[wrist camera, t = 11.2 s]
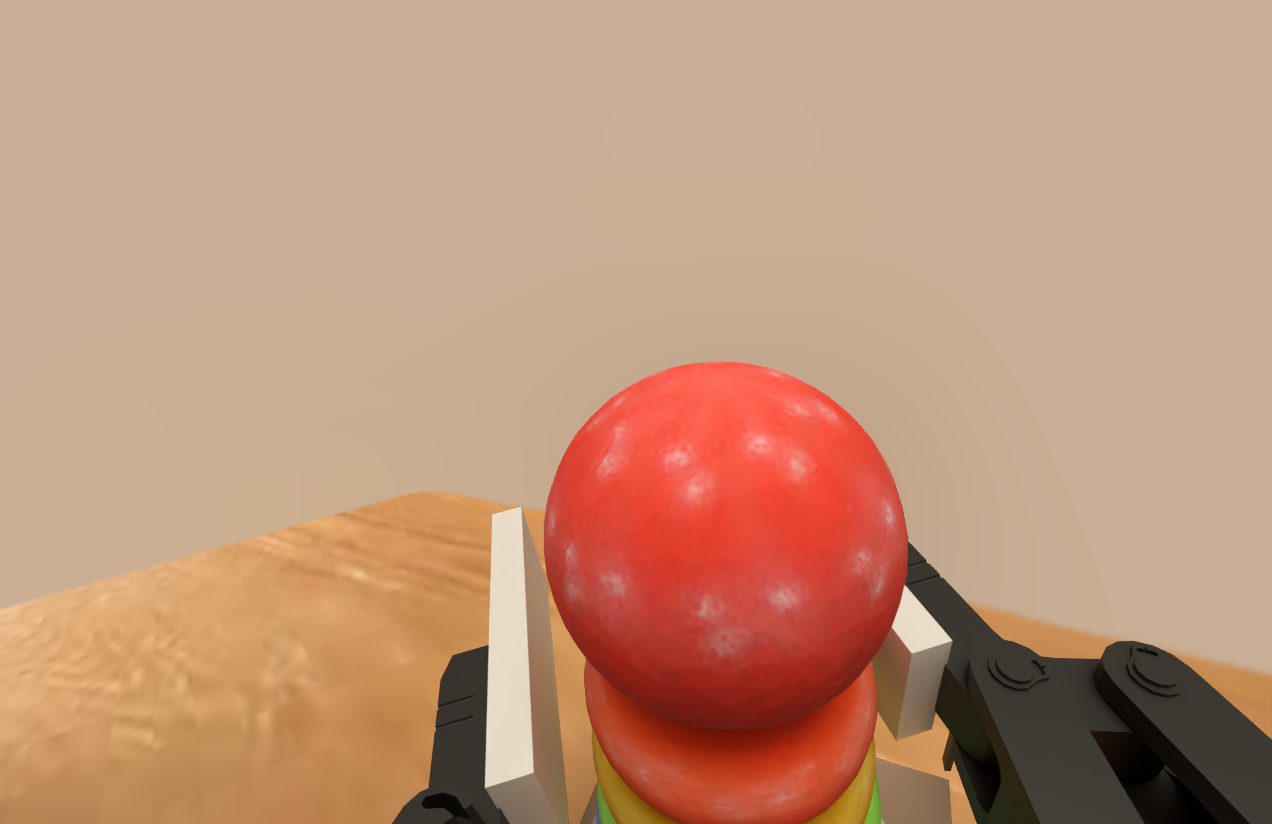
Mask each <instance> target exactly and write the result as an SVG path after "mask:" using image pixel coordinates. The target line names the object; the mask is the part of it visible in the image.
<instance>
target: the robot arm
mask: <svg viewBox="0 0 1272 824" xmlns="http://www.w3.org/2000/svg"><path fill="white" fill-rule="evenodd" d="M871 661H872V665H873V670H874V675H875V679H876V690H877V711H878V712H879V714H880V716H881V717H882V719H883V720H884V722H885V724H886V725H887V727H888V728H889V730H890V731H891V733H892V735H893V736H894V738H895V739H896V741H897V740H900V739H903V738H906V737H909V736H912V735H915V734H918V733H921V732H924V731H927V730H930V729H932V726H933V721H934V717H935V713H937V714H938V716H939V717H940V719H941V720H942V721H943V723H944V724H945V725H946V727H947V728H948V730H949V731H950V732H949V736H948V739H947V743H946V747H945V751H944V754H943V765H944V771H951V768H952V765H953V761H954V762H955V765H956V767H957V770H958V773H959V776H960V778H961V781H962V784H963V787H964V789H965V792H966V795H967V798H968V800H969V803H970V806H971V809H972V811H973V814H974V817H975V820H976V822H977V824H1272V739H1270V738H1269V737H1268V736H1267V735H1266V734H1265V733H1264V732H1263V731H1261V730H1260V729H1259V728H1258V727H1257V726H1256V725H1255V724H1254V723H1252V722H1251V721H1250V720H1249V719H1248V718H1247V717H1246V716H1245V715H1243V714H1242V713H1241V712H1240V711H1239V710H1238V709H1237V708H1236V707H1234V706H1233V705H1232V704H1231V703H1230V702H1229V701H1228V700H1227V699H1225V698H1224V697H1223V696H1222V695H1221V694H1220V693H1219V692H1217V691H1216V690H1215V689H1214V688H1213V687H1212V686H1211V685H1210V684H1208V683H1207V682H1206V681H1205V680H1204V679H1203V678H1202V677H1201V676H1199V675H1198V674H1197V673H1196V672H1195V671H1194V670H1193V669H1192V668H1190V667H1189V666H1188V665H1186V664H1185V663H1184V662H1182V661H1181V660H1179V659H1178V658H1177V657H1175V656H1174V655H1172V654H1170V653H1168V652H1166V651H1163V650H1161V649H1159V648H1157V647H1155V646H1153V645H1148V644H1144V643H1140V642H1135V641H1119V642H1115V643H1113V644H1111V645H1109V646H1107V647H1106V649H1105V651H1104V653H1103V655H1102V657H1101V659H1072V658H1050V657H1042V656H1039V655H1038V654H1036V653H1035V652H1034V651H1032V650H1031V649H1029V648H1027V647H1025V646H1022V645H1020V644H1018V643H1015V642H1013V641H1007V640H1004V639H1002V638H1001V637H1000V636H999V635H998V634H997V633H995V632H994V631H993V630H992V629H991V628H990V627H989V626H988V625H987V624H986V623H985V621H984V620H983V619H982V618H981V617H980V616H979V615H978V614H977V613H976V612H975V611H974V610H973V609H972V608H971V607H970V606H969V605H968V604H967V603H966V601H965V600H964V599H963V598H962V597H961V596H960V595H959V594H958V593H957V592H956V591H955V590H954V589H953V588H952V587H951V586H950V585H949V584H948V583H947V582H946V580H945V579H944V578H941V577H940V574H939V573H938V572H937V571H936V570H935V569H934V568H933V567H932V566H931V565H930V564H928V563H927V562H926V559H925V558H924V557H923V556H922V555H921V554H920V553H919V552H918V551H917V550H916V549H915V548H914V547H913V546H912V545H911V544H910V543H909V542H908V565H907V577H906V581H905V585H904V590H903V594H902V598H901V603H900V605H899V608H898V611H897V614H896V617H895V619H894V622H893V625H892V628H891V629H890V631H889V633H888V635H887V637H886V639H885V641H884V643H883V644H882V646H881V648H880V650H879V651H878V653H877V654H876V655H875V656H874V658H873V659H872V660H871ZM435 727H436V732H435V735H434V744H433V753H432V762H431V771H430V780H429V788H428V789H426V790H423V791H421V792H420V793H418V794H417V795H416V796H415V797H414V798H413V799H411V800H410V801H409V802H408V803H407V804H406V805H404V807H403V808H402V810H401V811H400V813H399V814H398V816H397V817H396V818H395V820H394V821H393V823H392V824H569V818H568V807H567V797H566V786H565V775H564V764H563V753H562V743H561V732H560V721H559V710H558V700H557V689H556V678H555V667H554V656H553V646H552V635H551V624H550V613H549V602H548V592H547V581H546V577H545V574H544V571H543V568H542V565H541V562H540V559H539V556H538V554H537V551H536V548H535V545H534V542H533V539H532V536H531V533H530V530H529V527H528V525H527V522H526V519H525V516H524V513H523V510H522V507H519V508H515V509H511V510H508V511H504V512H500V513H496V514H492V548H491V585H490V621H489V645H487V646H484V647H480V648H477V649H473V650H470V651H466V652H463V653H459V654H456V655H453V656H452V658H451V660H450V662H449V664H448V666H447V668H446V670H445V672H444V674H443V676H442V678H441V681H440V690H439V699H438V710H437V717H436V726H435Z"/></svg>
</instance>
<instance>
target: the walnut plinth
mask: <svg viewBox="0 0 1272 824" xmlns="http://www.w3.org/2000/svg"><path fill="white" fill-rule="evenodd" d="M876 777H877V781H878V786H879V793H880V802H881V824H952V820H951V804H950V788H949V780H947V779H944V778H941V777H937V776H934V775H931V774H928V773H924V772H921V771H918V770H915V769H911V768H908V767H905V766H902V765H898V764H895V763H892V762H889V761H885V760H882V759H879V758H876ZM597 807H598V781H597V784H596V786H595V789H594V791H593V794H592V796H591V798H590V801H589V803H588V806H587V808H586V810H585V813H584V815H583V818H582V820H581V823H580V824H596V815H597Z"/></svg>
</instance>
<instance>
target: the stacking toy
mask: <svg viewBox="0 0 1272 824" xmlns="http://www.w3.org/2000/svg"><path fill="white" fill-rule="evenodd" d="M544 554H545V563H546V572H547V577H548V580H549V584H550V587H551V591H552V594H553V598H554V601H555V604H556V606H557V608H558V611H559V613H560V615H561V618H562V620H563V622H564V624H565V627H566V629H567V630H568V632H569V634H570V635H571V637H572V639H573V640H574V642H575V643H576V645H577V646H578V648H579V649H580V650H581V652H582V653H583V655H584V656H585V657H586V663H585V670H584V685H585V694H586V704H587V710H588V714H589V718H590V721H591V725H592V745H593V757H594V763H595V769H596V773H597V777H598V807H597V815H596V824H881V802H880V793H879V786H878V781H877V777H876V757H875V743H874V730H875V724H876V719H877V690H876V679H875V675H874V670H873V665H872V661H871V660H872V659H873V658H874V656H875V655H876V654H877V653H878V651H879V650H880V648H881V646H882V644H883V643H884V641H885V639H886V637H887V635H888V633H889V631H890V629H891V628H892V625H893V622H894V619H895V617H896V614H897V611H898V608H899V605H900V603H901V598H902V594H903V590H904V585H905V581H906V577H907V565H908V534H907V529H906V524H905V518H904V512H903V507H902V504H901V501H900V498H899V494H898V491H897V488H896V485H895V482H894V479H893V476H892V474H891V472H890V470H889V468H888V466H887V464H886V462H885V460H884V458H883V457H882V455H881V453H880V452H879V450H878V448H877V447H876V445H875V443H874V442H873V440H872V439H871V438H870V437H869V435H868V434H867V433H866V432H865V431H864V429H863V428H862V427H861V426H860V425H859V424H858V422H857V421H855V419H854V418H852V416H851V415H850V414H849V413H848V412H846V411H845V410H844V409H843V408H842V407H841V406H839V405H838V404H837V403H836V402H835V401H833V400H832V399H831V398H830V397H828V396H827V395H825V394H824V393H822V392H820V391H819V390H817V389H816V388H814V387H812V386H810V385H808V384H806V383H804V382H802V381H800V380H798V379H796V378H794V377H792V376H790V375H788V374H785V373H782V372H779V371H776V370H773V369H769V368H765V367H761V366H756V365H751V364H746V363H737V362H724V361H721V362H708V363H695V364H688V365H682V366H678V367H674V368H669V369H666V370H664V371H662V372H659V373H656V374H654V375H651V376H648V377H646V378H644V379H642V380H640V381H638V382H636V383H635V384H633V385H631V386H629V387H628V388H626V389H625V390H623V391H621V392H620V393H619V394H617V395H616V396H614V397H612V398H611V399H610V400H609V401H608V402H607V403H606V404H604V405H603V406H602V407H601V408H600V409H599V410H598V411H597V412H596V413H595V414H594V415H593V416H591V418H590V419H589V420H588V421H587V422H586V423H585V424H584V426H583V427H582V428H581V429H580V430H579V431H578V433H577V434H576V436H575V437H574V439H573V440H572V442H571V444H570V445H569V447H568V448H567V450H566V452H565V454H564V456H563V458H562V460H561V462H560V465H559V466H558V469H557V472H556V475H555V478H554V481H553V484H552V487H551V490H550V493H549V496H548V500H547V505H546V512H545V519H544Z"/></svg>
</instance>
